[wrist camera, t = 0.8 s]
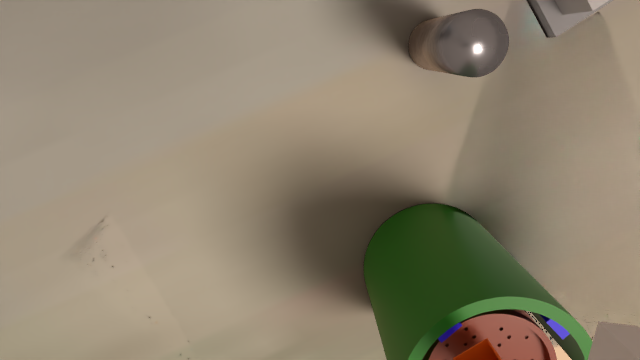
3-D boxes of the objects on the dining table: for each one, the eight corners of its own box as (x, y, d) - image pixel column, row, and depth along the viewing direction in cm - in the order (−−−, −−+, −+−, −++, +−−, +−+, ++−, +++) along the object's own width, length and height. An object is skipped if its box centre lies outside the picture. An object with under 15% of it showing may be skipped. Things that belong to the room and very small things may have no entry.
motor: (412, 339, 44) (497, 568, 25) (336, 264, 42) (362, 447, 23) (510, 256, 43) (682, 430, 23) (435, 175, 41) (553, 290, 22)
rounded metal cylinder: (399, 37, 39) (430, 33, 29) (441, 8, 38) (488, -5, 29) (424, 79, 39) (463, 89, 30) (466, 52, 39) (520, 53, 29)
